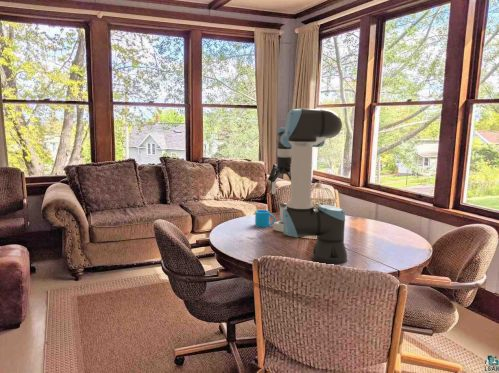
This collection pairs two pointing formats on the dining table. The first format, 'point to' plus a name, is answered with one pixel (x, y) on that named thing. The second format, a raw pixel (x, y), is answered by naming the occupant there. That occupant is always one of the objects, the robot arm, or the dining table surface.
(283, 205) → the pin
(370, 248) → the dining table surface
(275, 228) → the mount
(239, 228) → the dining table surface
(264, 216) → the mug
